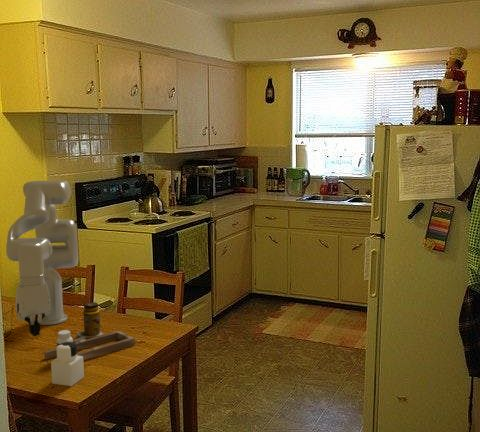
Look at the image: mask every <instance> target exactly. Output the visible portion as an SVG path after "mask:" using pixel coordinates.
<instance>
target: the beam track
mask: <svg viewBox="0 0 480 432" xmlns="http://www.w3.org/2000/svg"><path fill="white" fill-rule="evenodd" d="M115 340H117V341H116V342H115ZM118 340H119V341H118ZM111 341H114V342H112V343H109V344H105V343H108V342H111ZM73 343H75V344H76V345H77V356H83V362H84V361H87V360H90V359H94V358H97V357H100V356H103V355H106V354H109V353H113V352H117V351H119V350H123V349H125V348H129V347H132V346H135V345H136V337H134V336H131V335H129V334H127V333H125V332H123V331H121V330H116V331H112V332H109V333H104V334H103V335H99V336H94V337H90V338H88V339H87V338H83V337H82V338H81V337H78V338H75V339H73ZM101 344H105V345H101ZM98 345H101V346H98ZM95 346H96V347H95ZM91 347H92V348H91ZM87 348H91V349H88V350H86V351H85V350H84V349H87ZM82 350H84V351H82ZM78 351H82V352H78ZM43 354H44V359H45V360H50V359H54V358H57V349H56V348H52V349H48V350H45V351H44V353H43Z"/></svg>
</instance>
